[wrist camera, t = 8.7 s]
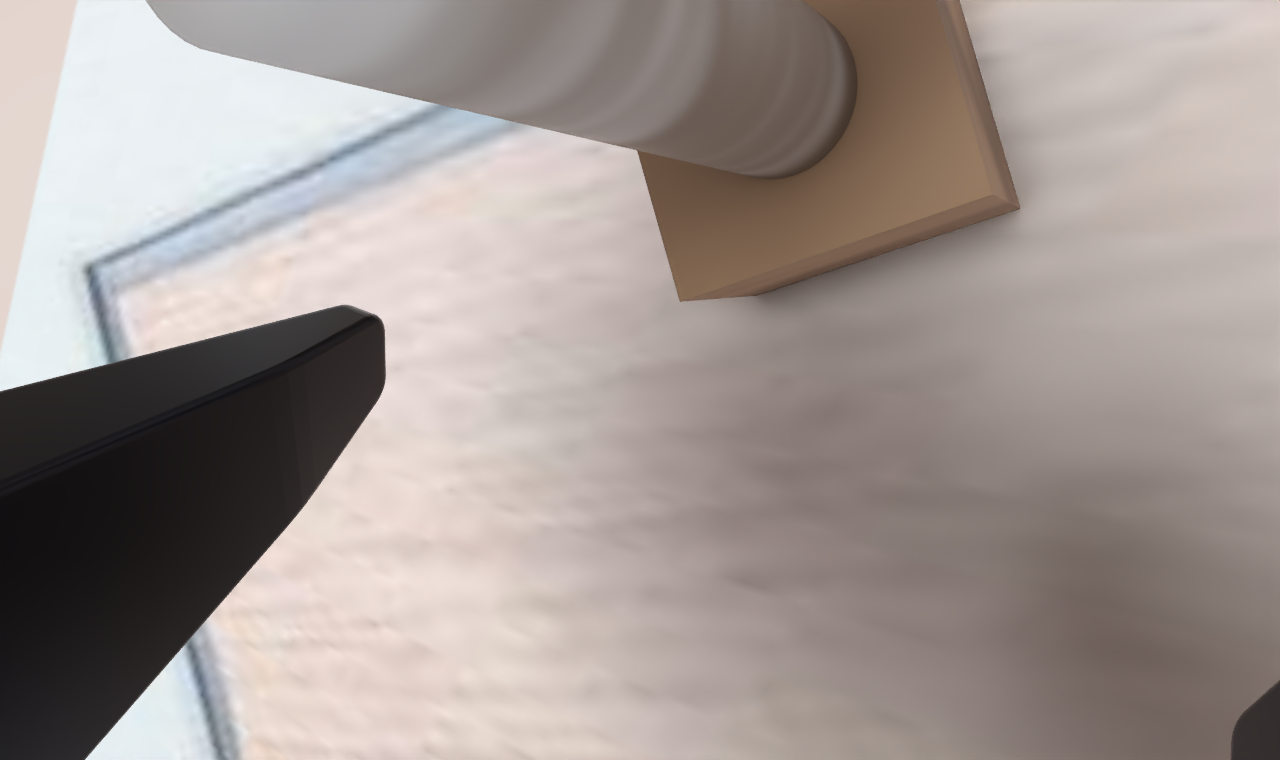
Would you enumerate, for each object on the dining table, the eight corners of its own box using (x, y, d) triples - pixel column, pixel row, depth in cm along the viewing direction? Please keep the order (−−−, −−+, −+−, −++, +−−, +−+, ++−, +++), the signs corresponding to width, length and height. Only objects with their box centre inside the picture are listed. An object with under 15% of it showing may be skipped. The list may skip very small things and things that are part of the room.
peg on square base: (1020, 208, 18) (701, 48, 5) (756, 295, 21) (117, 346, 8) (938, -72, 18) (407, -979, 5) (687, 55, 21) (-50, -292, 8)
